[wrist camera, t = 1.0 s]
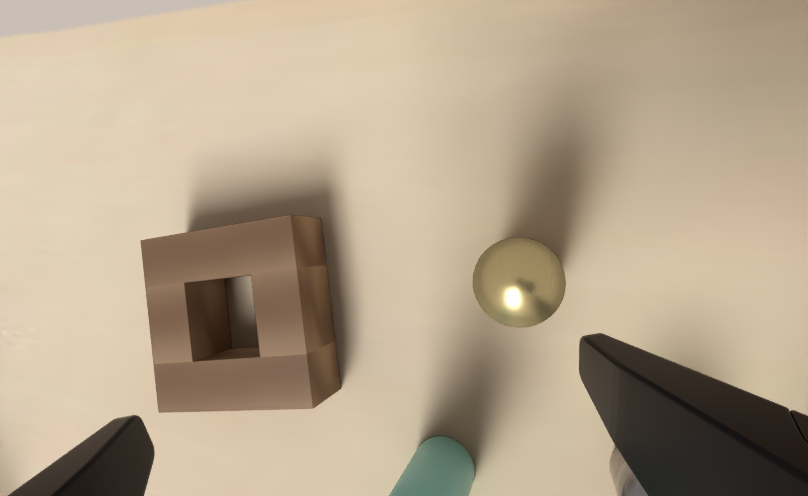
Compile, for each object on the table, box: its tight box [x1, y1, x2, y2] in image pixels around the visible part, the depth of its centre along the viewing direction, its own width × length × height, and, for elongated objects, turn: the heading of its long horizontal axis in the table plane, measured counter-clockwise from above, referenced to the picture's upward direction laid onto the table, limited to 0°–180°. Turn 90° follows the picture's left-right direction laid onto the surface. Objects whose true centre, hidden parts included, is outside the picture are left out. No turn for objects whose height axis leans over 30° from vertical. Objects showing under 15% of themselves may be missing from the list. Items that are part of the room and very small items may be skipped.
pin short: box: [610, 447, 648, 496], centre depth 17 cm, size 3×3×4 cm
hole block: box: [141, 215, 341, 413], centre depth 23 cm, size 9×9×3 cm
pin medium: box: [473, 237, 566, 327], centre depth 18 cm, size 3×3×6 cm
